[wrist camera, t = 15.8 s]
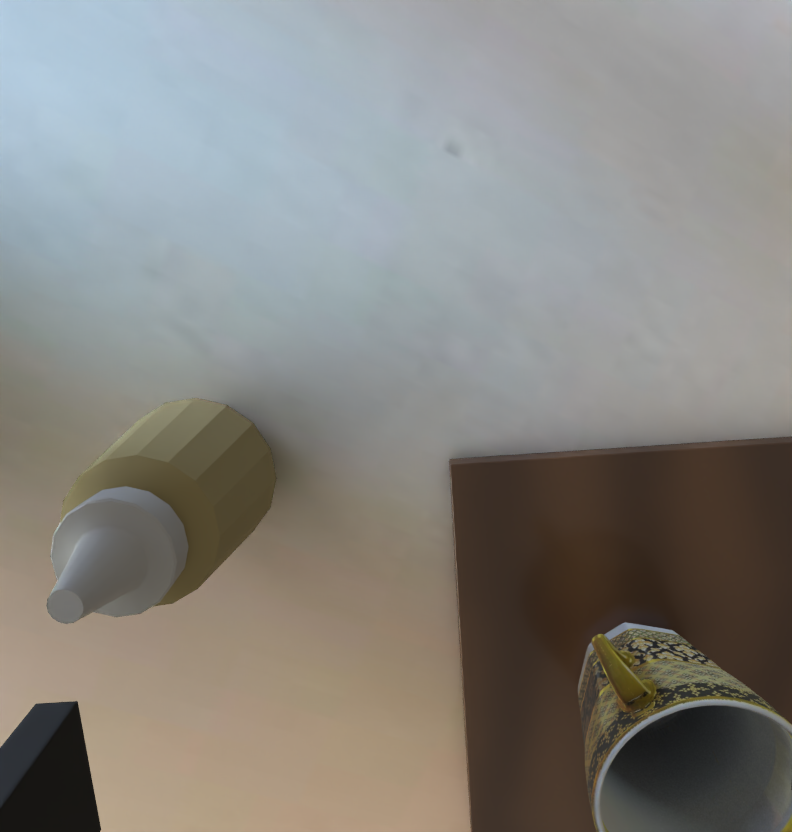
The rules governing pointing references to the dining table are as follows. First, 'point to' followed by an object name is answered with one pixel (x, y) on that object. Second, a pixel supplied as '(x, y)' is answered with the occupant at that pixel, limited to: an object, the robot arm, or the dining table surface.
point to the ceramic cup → (678, 740)
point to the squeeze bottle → (159, 511)
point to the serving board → (606, 596)
